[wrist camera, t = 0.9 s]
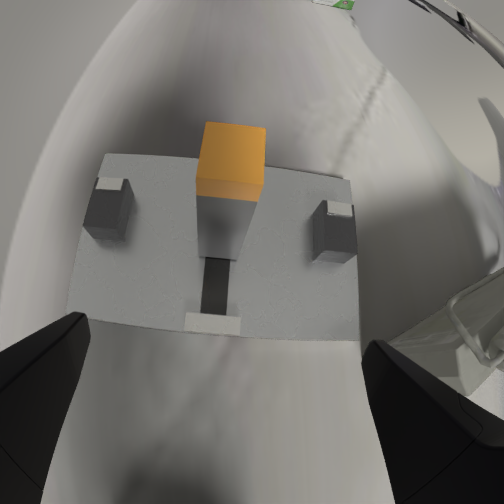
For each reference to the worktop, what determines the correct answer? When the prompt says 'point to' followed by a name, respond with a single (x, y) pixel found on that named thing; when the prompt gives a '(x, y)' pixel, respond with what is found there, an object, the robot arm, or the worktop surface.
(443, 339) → the geiger counter
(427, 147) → the worktop surface
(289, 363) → the worktop surface
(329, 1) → the ink box
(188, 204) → the breaker panel
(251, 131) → the lever
